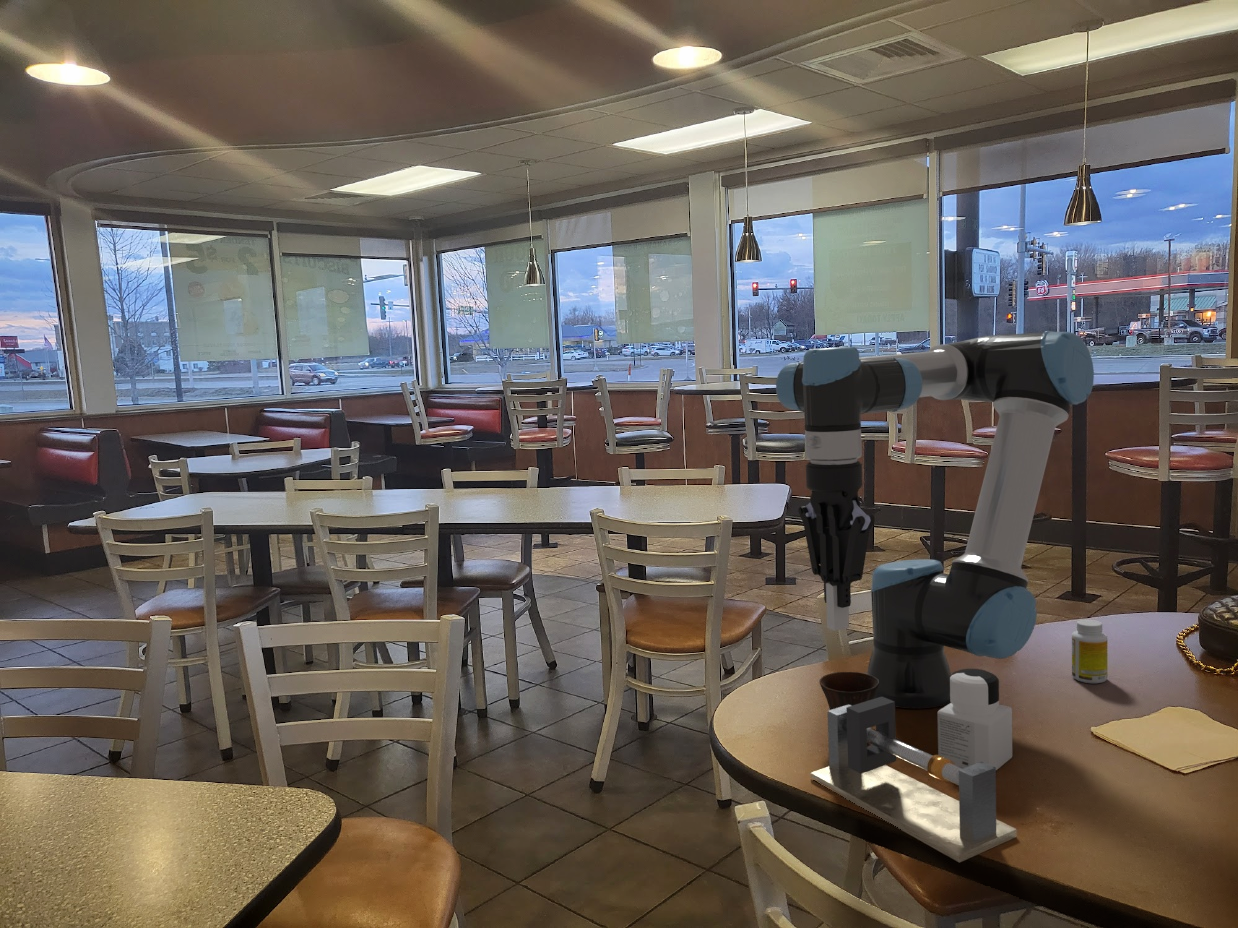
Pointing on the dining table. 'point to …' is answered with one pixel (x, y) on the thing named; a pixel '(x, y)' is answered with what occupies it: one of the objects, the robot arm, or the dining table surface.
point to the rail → (919, 794)
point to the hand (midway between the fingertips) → (838, 627)
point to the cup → (848, 688)
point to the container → (975, 721)
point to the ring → (858, 721)
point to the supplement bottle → (1089, 652)
